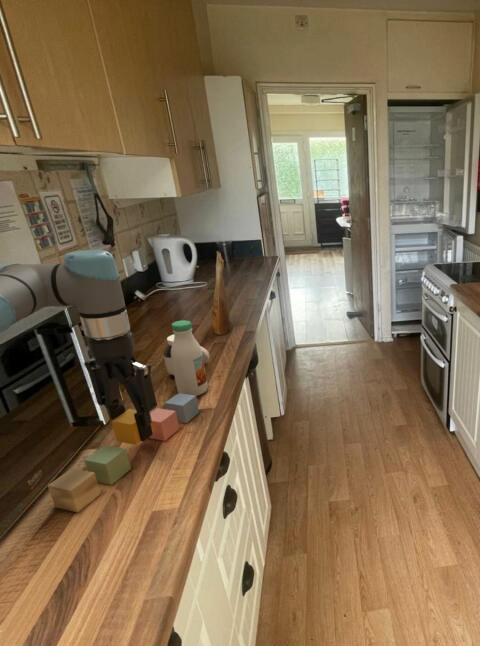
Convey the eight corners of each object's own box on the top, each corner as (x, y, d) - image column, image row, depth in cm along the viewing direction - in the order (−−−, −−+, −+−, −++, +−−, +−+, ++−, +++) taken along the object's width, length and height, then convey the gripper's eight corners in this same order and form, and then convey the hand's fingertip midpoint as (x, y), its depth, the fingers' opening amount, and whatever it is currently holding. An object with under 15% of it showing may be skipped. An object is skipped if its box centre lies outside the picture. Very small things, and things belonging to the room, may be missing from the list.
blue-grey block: (168, 420, 104) (164, 402, 102) (181, 410, 109) (178, 392, 107) (186, 423, 103) (182, 405, 101) (199, 412, 108) (196, 395, 106)
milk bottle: (190, 400, 113) (177, 330, 105) (171, 393, 117) (158, 324, 109) (214, 388, 119) (203, 321, 111) (195, 382, 123) (184, 316, 115)
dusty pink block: (145, 437, 97) (141, 419, 95) (161, 425, 102) (157, 407, 100) (164, 441, 96) (160, 422, 94) (179, 429, 101) (175, 410, 99)
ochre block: (116, 441, 89) (110, 421, 87) (134, 428, 94) (129, 408, 92) (137, 445, 88) (131, 424, 86) (154, 431, 93) (149, 411, 91)
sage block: (90, 480, 84) (83, 459, 82) (110, 464, 89) (105, 444, 87) (111, 484, 83) (105, 464, 81) (131, 468, 88) (125, 448, 86)
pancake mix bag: (234, 319, 173) (225, 249, 162) (232, 336, 156) (222, 259, 145) (216, 320, 171) (206, 249, 160) (212, 337, 154) (201, 260, 143)
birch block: (55, 507, 77) (47, 485, 75) (79, 488, 82) (72, 467, 80) (78, 512, 76) (70, 490, 74) (101, 493, 81) (94, 472, 79)
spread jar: (167, 381, 123) (159, 344, 118) (169, 365, 132) (162, 330, 128) (211, 375, 127) (206, 338, 122) (210, 360, 136) (205, 326, 132)
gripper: (163, 331, 83) (183, 431, 92) (86, 322, 87) (113, 420, 96) (134, 345, 76) (159, 452, 86) (52, 335, 80) (85, 439, 89)
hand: (135, 435), depth 91 cm, fingers closed on ochre block, 5 cm apart
